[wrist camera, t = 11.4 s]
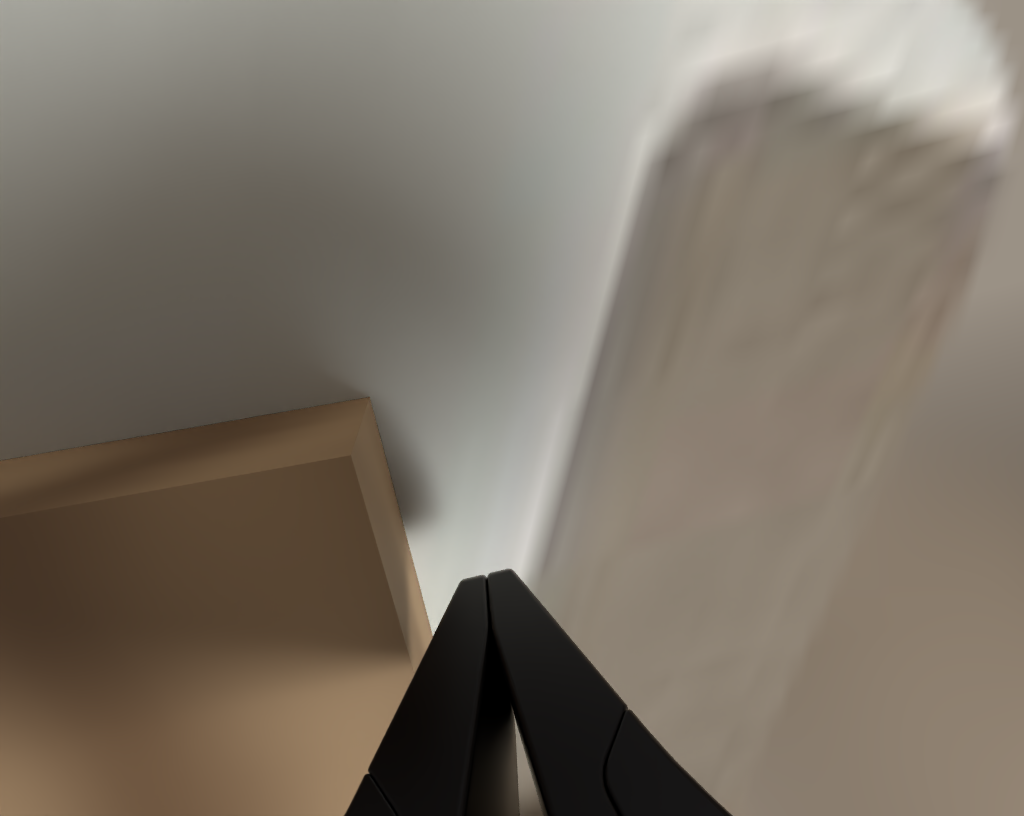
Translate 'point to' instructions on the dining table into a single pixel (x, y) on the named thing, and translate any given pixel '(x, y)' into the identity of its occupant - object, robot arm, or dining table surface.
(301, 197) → the dining table surface
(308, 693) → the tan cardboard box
